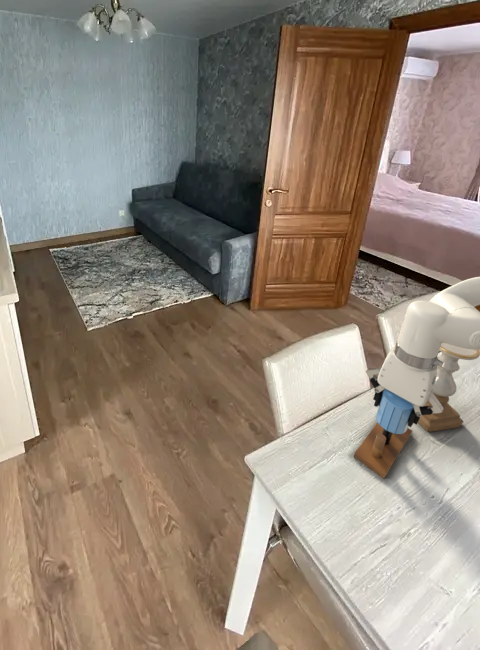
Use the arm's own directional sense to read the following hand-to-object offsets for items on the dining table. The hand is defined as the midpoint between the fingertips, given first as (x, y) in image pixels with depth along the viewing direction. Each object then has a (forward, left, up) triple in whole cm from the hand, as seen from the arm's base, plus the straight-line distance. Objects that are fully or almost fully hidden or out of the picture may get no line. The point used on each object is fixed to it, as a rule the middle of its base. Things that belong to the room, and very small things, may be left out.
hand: (394, 412), depth 83 cm
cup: (0, 0, -3) cm, 3 cm away
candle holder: (-11, -18, -12) cm, 24 cm away
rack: (0, 0, -11) cm, 11 cm away
